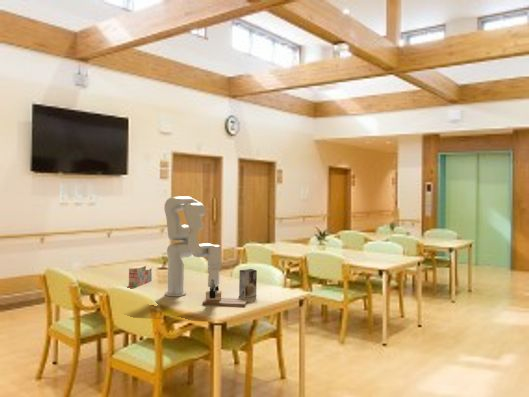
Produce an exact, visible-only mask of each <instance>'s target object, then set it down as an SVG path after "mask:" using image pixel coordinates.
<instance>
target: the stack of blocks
mask: <svg viewBox="0 0 529 397" xmlns="http://www.w3.org/2000/svg"><path fill="white" fill-rule="evenodd" d="M152 272H153V271H152V267H147V266H146V265H139V264H138V265H135V266H132V267H130V268H128V287H130V288H133V287H134V288H138V287H139V288H140V287H142V286H144V285H145V284H148V283H150V282H152V275H153V273H152Z"/></svg>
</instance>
